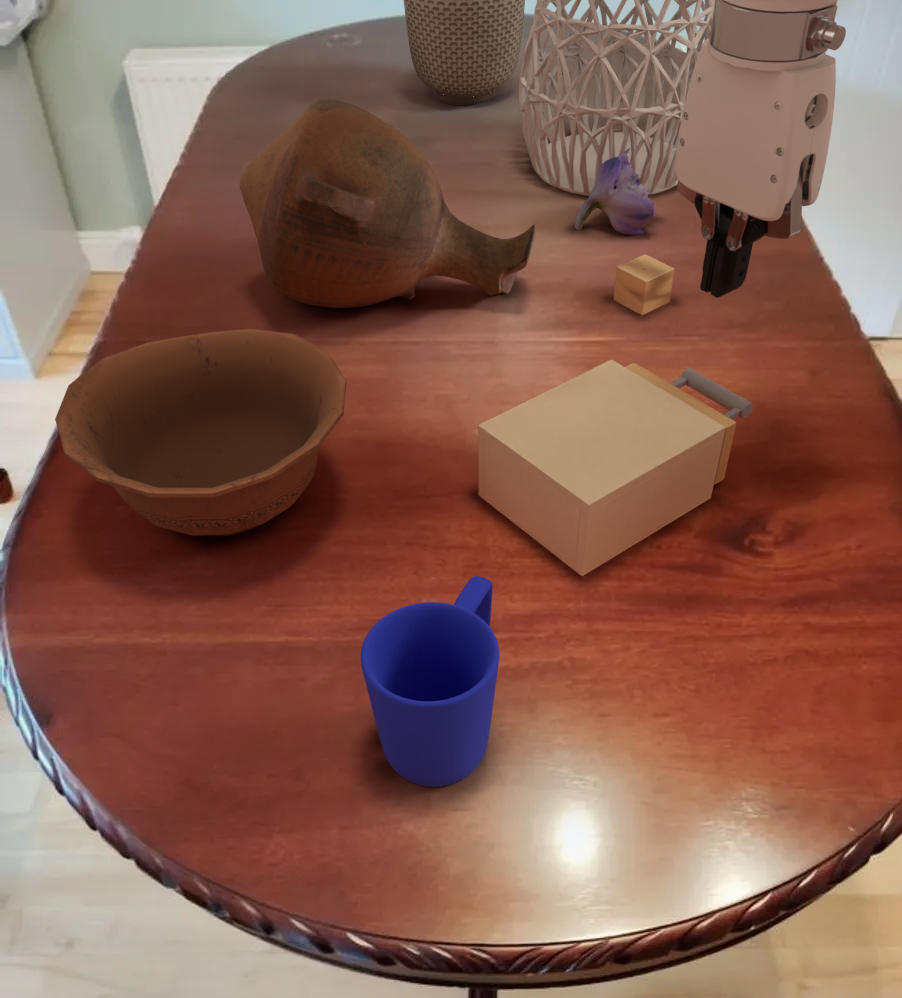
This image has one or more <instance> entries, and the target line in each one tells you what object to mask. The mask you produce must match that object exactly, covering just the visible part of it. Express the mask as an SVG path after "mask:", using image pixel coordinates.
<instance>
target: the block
mask: <svg viewBox="0 0 902 998" xmlns="http://www.w3.org/2000/svg"><path fill="white" fill-rule="evenodd" d="M674 275H675V268H674V267H672V266H670V265H668V264H666V263H664V262H662V261H660V260H658V259H656V258H654V257H652V256H650V255H648V254H646V253H644V254H642V255H640V256H637V257H635V258H633V259H631V260H628V261H626V262H623V263H621V264H619V265H617V266H616V269H615V279H614V289H613V298H612V299H613V301H614V302H616V303H618V304H620V305H622V306H623V307H625V308H628V309H629V310H631V311H633V312H635V313H637V314H639V315H641V316H644V315H646V314H648V313H649V312H652V311H654V310H656V309H658V308H660V307H662V306H664V305H667V304H669V303H670V302H671V295H672V289H673V282H674Z"/></svg>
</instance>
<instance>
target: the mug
mask: <svg viewBox="0 0 902 998" xmlns="http://www.w3.org/2000/svg"><path fill="white" fill-rule="evenodd" d="M493 591H494V589H493V583H492V581H491V579H488V578H486V577H484V576H483V577H482V576H478V575H474V576H472V577H471V578H470V579H469V580H468V581H467V582H466V584H465V585H464V586H463V588H462V590H461V591H460V593H459V594H458V596H457V598H456V599H455V601H454V603H453V604H452V603H446V602H436V601H428V602H418V603H412V604H408V605H405V606H403V607H400V608H397V609H395V610H393V611H391V612H388V614H386V615H385V616H383V617H381V618H380V620H378V621H377V622H376V623H375V624H374V625H373V626H372V627H371V628H370V629H369V631H368V632H367V634H366V636H365V638H364V640H363V642H362V645H361V650H360V665H361V670H362V674H363V677H364V682H365V685H366V689H367V690H366V691H367V694H368V697H369V701H370V706H371V710H372V713H373V717H374V721H375V725H376V728H377V729H376V730H377V733H378V737H379V741H380V745H381V748H382V751H383V754H384V756H385V759H386V760H387V762H388V763H389V765H390V767H391V768H392V769H393V770H394V771H395V772H396V773H397V774H398V775H399V776H400V777H402V778H403V779H405V780H407V781H408V782H411V783H413V784H415V785H419V786H422V787H430V788H431V787H432V788H438V787H446V786H450V785H453V784H455V783H458V782H461V781H462V780H464V779H466V778H467V777H469V776H470V775H471V774H472V773H473V772H474V771H476V769H477V768H478V767H479V765H480V764H481V763H482V761H483V759H484V757H485V754H486V752H487V750H488V745H489V739H490V731H491V725H492V717H493V709H494V703H495V702H494V701H495V695H496V687H497V678H498V671H499V664H500V645H499V642H498V639H497V637H496V634H495V633H494V631H493V629H492V628H491V618H492V605H493V604H492V603H493Z"/></svg>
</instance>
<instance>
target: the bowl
mask: <svg viewBox="0 0 902 998" xmlns="http://www.w3.org/2000/svg"><path fill="white" fill-rule="evenodd" d="M346 390H347V378H346V377H345V376H344V374H343V373H342V371H341V369H340V367H338V365H337V364H336V363H335V361H334V359H333V358H332V356H331V355H330V353H329V352H328V351H326V350H325V349H323V348H321V347H319V346H317V345H315V344H314V343H312V342H310V341H308V340H306V339H304V338H302V337H301V336H299V335H297V334H295V333H290V332H281V331H280V332H279V331H273V330H263V329H255V328H243V329H233V330H231V329H230V330H222V331H211V332H203V333H202V332H201V333H194V334H189V335H183V336H177V337H172V338H165V339H159V340H154V341H148V342H145V343H143V344H139V345H137V346H134V347H131V348H127V349H125V350H123V351H120V352H117V353H114V354H110V355H108V356H106V357H103V358H101V359H99V360H98V361H97V362H96V363H94V364H93V365H92V366H90V367H89V368H88V369H86V371H85V372H83V373H82V374H81V375H80V376H78V377H77V378H76V379H74V380H73V381H72V382H70V383H69V384H68V386H67V388H66V391H65V393H64V396H63V398H62V400H61V403H60V406H59V408H58V410H57V413H56V416H55V418H54V421H55V424H56V427H57V431H58V434H59V435H58V436H59V437H60V441H61V445H62V448H63V452H64V455H65V458H67V459H69V460H70V461H71V462H73V463H74V464H75V465H76V466H78V467H79V468H80V469H81V470H82V471H84V472H85V473H87V474H88V475H89V476H90V477H92V478H93V479H94V480H96V481H97V482H98V483H101V484H105V485H109V486H111V487H113V488H114V490H115V491H116V492H117V494H118V495H119V496H120V497H121V499H122V500H123V501H124V502H125V503H126V504H127V505H128V506H129V507H130V508H131V509H133V510H134V511H135V512H137V513H138V514H139V515H140V516H142V517H143V518H144V519H146V521H148V522H150V523H151V524H152V525H154V526H155V527H158V528H162V529H165V530H169V531H173V532H177V533H181V534H183V535H184V534H185V535H187V536H188V535H189V536H192V537H193V536H195V537H196V536H197V537H198V536H209V537H219V536H220V537H223V536H234V535H238V534H240V533H244V532H247V531H251V530H253V529H255V528H257V527H258V526H261V525H264V524H266V523H267V522H269V521H271V520H272V519H274V518H275V517H277V516H278V515H280V514H281V513H283V512H284V511H286V510H288V509H289V508H290V507H292V506H294V504H295V503H296V502H297V500H298V499H299V498H300V496H301V495H302V493H304V491H305V489H306V488H307V487H308V485H309V484H310V482H312V480H313V478H314V476H315V473H316V470H317V464H318V457H319V448H320V446H322V444H323V442H324V441H325V440H326V439H327V438H328V436H329V435H330V434H331V432H332V431H333V430H334V428H335V427H336V426H337V425H338V423H339V422H340V420H341V419H342V418H343V417H344V414H345V413H344V412H345V403H346V392H347V391H346Z"/></svg>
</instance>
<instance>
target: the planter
mask: <svg viewBox="0 0 902 998" xmlns="http://www.w3.org/2000/svg"><path fill="white" fill-rule="evenodd" d="M403 8H404V18H405V26H406V33H407V39H408V40H407V41H408V46H409V52H410V57H411V62H412V65H413V69H414V71H415V73H416V76H417V78H419V80H420V81H421V82H422V83H423V84H424V85H425V86H427V87H428V88H429V89H431V90H432V91H433V92H434V94H435V96H436V97H437V99H438V100H439V101H440V102H443V103H445V104H449V105H453V106H474V105H477V104H481V103H483V102H487V101H490V100H492V99H493V98H494V96H495V95H496V93H497V91H498V89H500V88H501V87H502V86H504V85H505V84H506V83H507V82H508V81H509V80H510V79H511V77H512V76H513V75H514V73H515V71H516V68H517V65H518V61H519V57H520V49H521V44H522V37H523V29H524V19H525V8H526V0H403ZM494 90H495V91H494ZM490 92H491V93H490ZM443 94H444V95H443ZM473 96H474V97H473Z"/></svg>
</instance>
